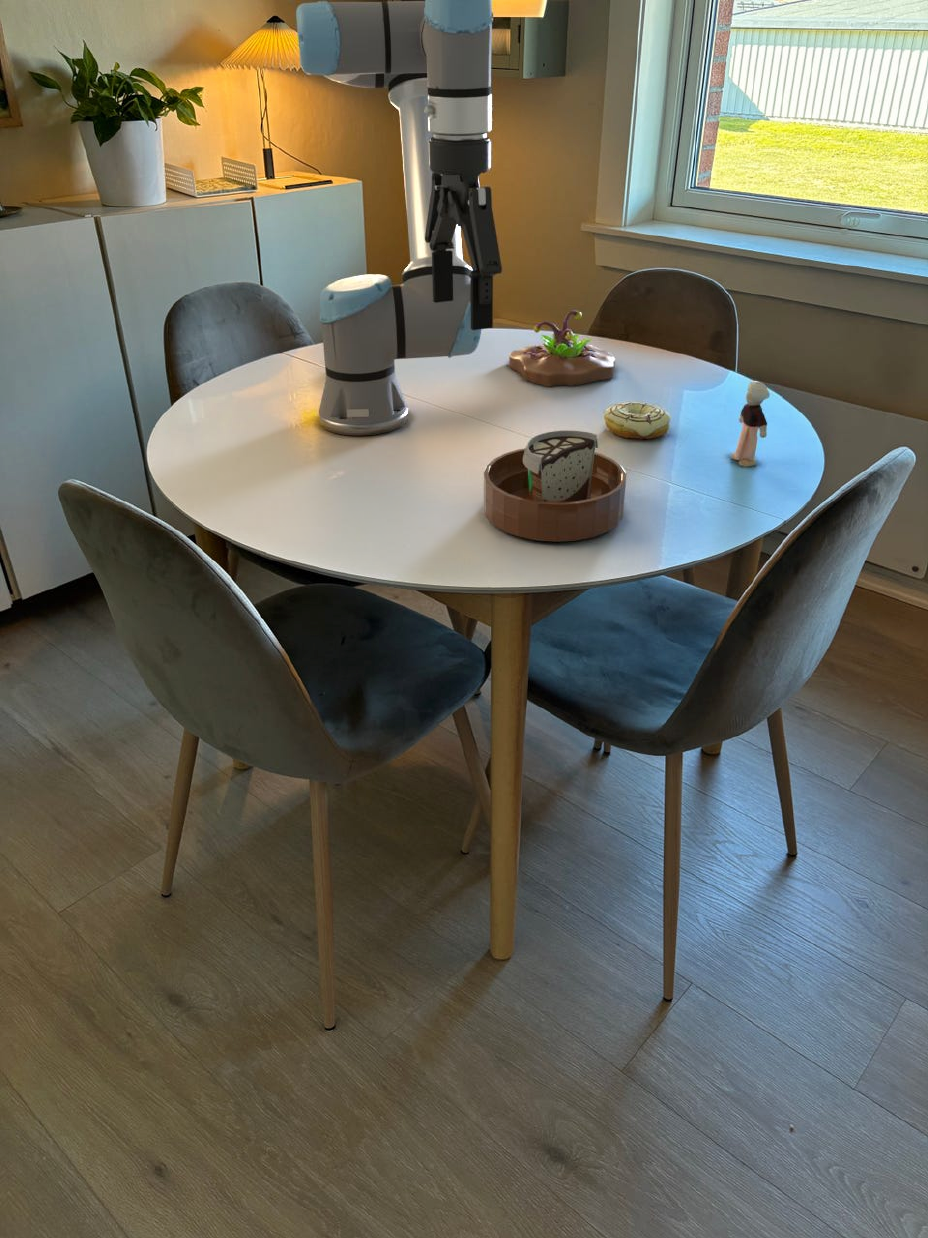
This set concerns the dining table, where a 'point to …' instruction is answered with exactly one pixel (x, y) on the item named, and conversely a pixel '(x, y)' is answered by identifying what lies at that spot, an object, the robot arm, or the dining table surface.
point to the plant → (562, 359)
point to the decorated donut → (637, 420)
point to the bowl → (552, 519)
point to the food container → (560, 465)
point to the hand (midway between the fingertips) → (461, 314)
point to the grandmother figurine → (751, 424)
